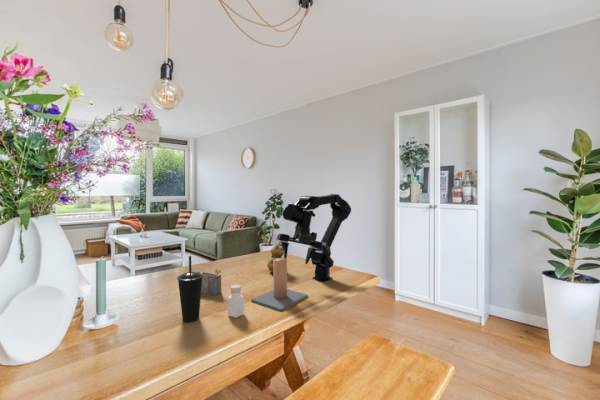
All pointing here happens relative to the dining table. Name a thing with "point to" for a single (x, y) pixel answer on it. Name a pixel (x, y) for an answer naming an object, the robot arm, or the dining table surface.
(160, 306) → the dining table surface
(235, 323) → the dining table surface
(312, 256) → the robot arm
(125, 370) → the dining table surface
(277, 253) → the decorative figurine
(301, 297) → the rubber mat
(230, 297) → the pepper shaker
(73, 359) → the dining table surface
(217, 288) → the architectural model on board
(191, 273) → the drinking cup
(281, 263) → the wooden peg
